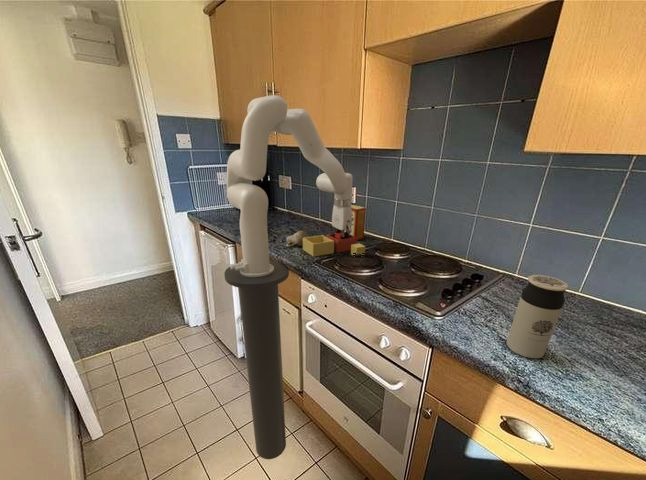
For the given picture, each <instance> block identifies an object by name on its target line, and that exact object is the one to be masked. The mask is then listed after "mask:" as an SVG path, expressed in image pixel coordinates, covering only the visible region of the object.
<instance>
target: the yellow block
mask: <svg viewBox="0 0 646 480" xmlns="http://www.w3.org/2000/svg"><path fill="white" fill-rule="evenodd" d="M353 253H356V254H361V255H366V245H365V244H362V243H357V244H353V245H351V250H350V255H351V256H353V255H355V254H353ZM362 253H365V254H362Z"/></svg>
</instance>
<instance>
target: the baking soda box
mask: <svg viewBox="0 0 646 480" xmlns="http://www.w3.org/2000/svg"><path fill="white" fill-rule="evenodd" d="M351 211H352V226H351V230H352V232H351V233H350V235H352V236H354V237H357V241H360V240H364V238H365V227H366V213H367V207H364V206H359V205H354V204H351ZM345 229H346V228H345ZM344 232H346V231H344Z"/></svg>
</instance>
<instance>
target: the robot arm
mask: <svg viewBox="0 0 646 480" xmlns="http://www.w3.org/2000/svg"><path fill="white" fill-rule="evenodd" d="M246 112H247V114H246V116H245V118H244V121H243V123H242V127H241V133H240V146H239V147H240V148H239V149H235V150H234V151H232V153H230V155H229V156H228V158H227V162H226V197H227V200H228V202H229V204H230V205H231V206H232V207H234V208H236V209H237V210H240V214H239V232H240V233H239V234H240V244H241V252H242V259H240V261H239V262H237V263H238V264H237V263H232V264H229V267H230V268H231V270H232V269H236V271H238V270H240V273H241V274H242V275H244V276H247V277H263V276H267V275H269V274H271V273H272V272H273V271H274V266H273V265H271V264H270V263H269V260H270V249H269V246H270V245H269V232H268V231H269V230H268V211H269V197H268V195H267V192H266V191H265V190H264V189H263V188H262V187H260V186H258V185H256V184H253V181H256V182H257V181H260V180H262V179H264V177H265V175H266V172H267V164H268V163H267V162H268V161H267V160H268V145H269V138H270V134H271V133H272V132H274V133H277V134H281V135H284V136H292V137H293V138H294V140H295V142H296V144H297V146H298V148H299V149H300V151H301V153H302V155H303V158H304V159H305V160H307V161H308V162H310V163H311V164H312V165H314V166H316V167H318V168H319V169H320V170H321V171H322V172H323V173H320V174H319V175H318V176H317V178H316V181H315V185H316V187H317V188H318V189H319V190H320V191H321V192H325V193H330V194H334V200H333V201H334V202H333V206H332V207H333V208H332V213H331V226H332V227H333V228H334V229H333V230H334V233H342V236H341V240H342V239H348V236H349V234H350V233H351V232H352V230H351V226H352V211H351V205H352V201H353V200H352V199H353V181H354V180H353V179H354V177H353V174H352V173H349V172H345V170H344V168H343V166H342V164H341V163H340V161H339V160H338V159H337V158H336V157H335V156H334V155H333V153H331V151H330V150H329V149H328V148H326V146H325V145H324V142H323V141H322V138H321V136H320V133H319V132H318V130H317V128H316V125H315V123H314V121H313V120H312V117H311V115H310V113H309V112H308V111H307V110H306V109H303V108H288V104H287V102H286V100H285V99H284V98H283V97H282V96H280V95H276V94H271V95H265V96H261V97H256V98H253V99H252V100H251V101H250V102H249V103H248V105H247V111H246ZM345 228H346V229H345ZM344 231H346V232H345V233H344Z"/></svg>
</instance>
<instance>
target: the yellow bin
mask: <svg viewBox="0 0 646 480" xmlns="http://www.w3.org/2000/svg"><path fill="white" fill-rule="evenodd" d="M302 250H303V251H304V252H306V253H307V254H309V255H310V256H312V257H319V256H325V255H331V254H334V253H335V251H334V241H333V240H331V239H329V238H327V237H326V235H324V234H321V235H313V236H308V237H305V238H303V246H302Z"/></svg>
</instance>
